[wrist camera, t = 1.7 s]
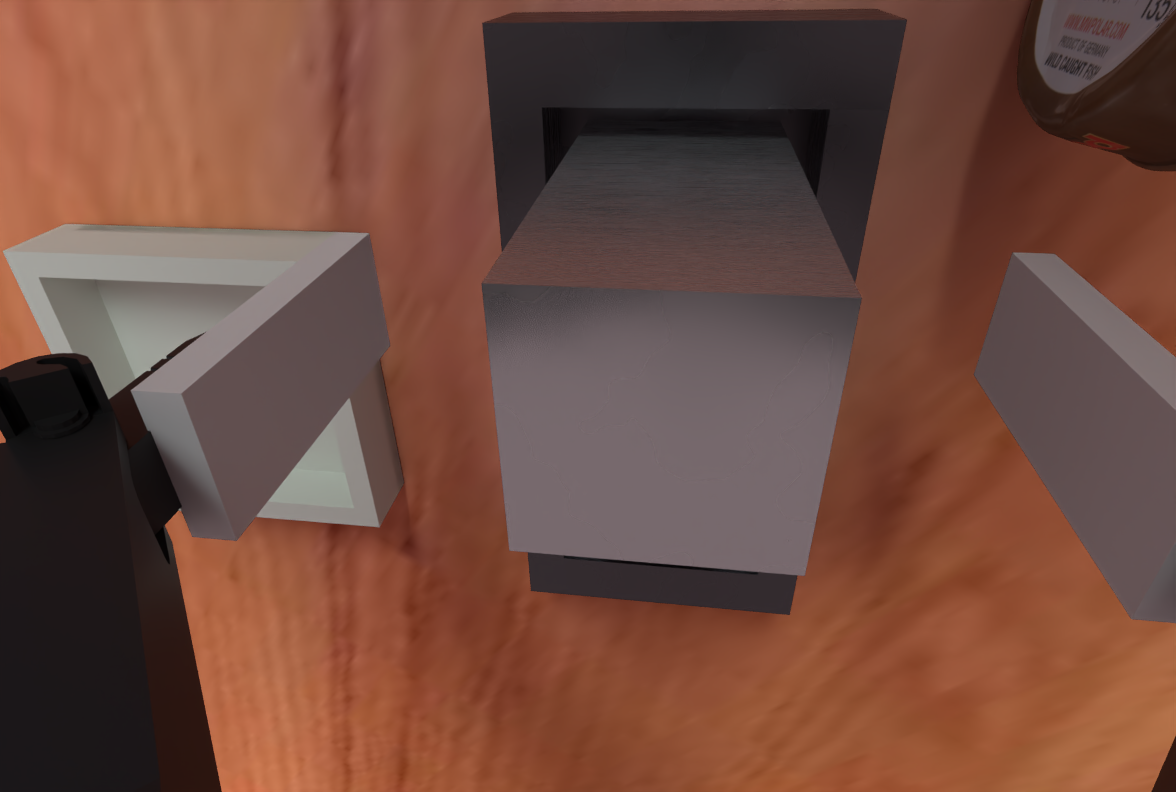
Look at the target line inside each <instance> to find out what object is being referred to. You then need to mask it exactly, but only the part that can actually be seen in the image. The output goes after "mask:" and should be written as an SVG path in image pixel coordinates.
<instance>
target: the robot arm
mask: <svg viewBox="0 0 1176 792" xmlns="http://www.w3.org/2000/svg"><path fill="white" fill-rule="evenodd" d="M389 346H390V342H389V337H388V331H387V326H386V321H385V315H384V310H383V304H382V299H381V294H380V288H379V283H378V278H377V272H376V267H375V261H374V256H373V251H372V245H371V240H370V235H369V233H347V232H335V233H334V234H333V235H332V236H330V237H329V238H328V239H326V240H325V241H324V242H322V243H321V244H320V245H319V246H317V247H316V248H315V249H313V250H312V251H311V252H309V253H308V254H307V255H306V256H304V257H303V258H302V259H300V260H299V261H298V262H297V263H295V264H294V265H293V266H291V267H290V268H289V269H287V270H286V271H285V272H284V273H282V274H281V275H280V276H278V277H277V278H276V279H274V280H273V281H272V282H271V283H269V284H268V285H267V286H265V287H264V288H263V289H262V290H260V291H259V292H258V293H256V294H255V295H254V296H252V297H251V298H250V299H249V300H247V301H246V302H245V303H243V304H242V305H241V306H239V307H238V308H237V309H236V310H234V311H233V312H232V313H230V314H229V315H228V316H227V317H225V318H224V319H223V320H221V321H220V322H219V323H217V324H216V325H215V326H214V327H212V328H211V329H210V330H208V331H207V332H205V333H203V334H200V335H198V336H196V337H194V338H191V339H189V340H187V341H185V342H184V343H182V344H181V345H180V346H178V347H177V348H176V349H175V350H173V351H172V352H171V353H169V354H168V355H167V356H166V359H161V360H160V361H159V362H157V363H156V364H155V365H153V366H152V367H151V370H150V371H146V372H144V373H143V374H142V375H140V376H139V377H138V378H136V379H135V380H134V381H132V382H131V383H130V384H128V385H127V386H126V387H124V388H123V389H122V390H120V391H119V392H118V393H116V394H115V395H114V396H113V397H111V398H110V399H108V397H107V395H106V392H105V390H104V388H103V386H102V383H101V381H100V379H99V377H98V374H97V372H96V370H95V368H94V365H93V363H92V362H91V360H90V359H89V358H88V356H85V355H81V354H77V353H56V354H50V355H44V356H38V357H34V358H31V359H28V360H24V361H21V362H17V363H15V364H13V365H10V366H8V367H6V368H4V369H1V370H0V430H1V432H2V434H3V436H4V437H5V439H6V443H0V792H222V791H221V786H220V781H219V776H218V771H217V766H216V761H215V756H214V751H213V746H212V741H211V736H210V730H209V725H208V720H207V715H206V710H205V705H204V700H203V695H202V690H201V685H200V680H199V675H198V670H197V665H196V660H195V655H194V650H193V645H192V640H191V635H190V630H189V625H188V620H187V615H186V610H185V605H184V599H183V594H182V589H181V584H180V579H179V574H178V569H177V564H176V559H175V554H174V549H173V544H172V541H171V539H170V536H169V534H168V532H167V530H166V527H165V524H166V523H167V522H168V521H169V520H170V519H171V518H172V517H173V516H174V515H175V513H176V512H177V511H178V510H179V509H181V511H182V513H183V516H184V518H185V521H186V523H187V525H188V528H189V530H190V532H191V535H192V537H199V538H211V539H222V540H233V541H237V540H238V539H239V537H240V536H241V535H242V534H243V532H244V531H245V530H246V528H247V527H248V526H249V525H250V523H251V522H252V521H253V520H254V518H255V517H256V516H257V514H258V513H259V512H260V511H261V509H262V508H263V507H264V506H265V504H266V503H267V502H268V500H269V499H270V498H271V497H272V495H273V494H274V493H275V492H276V490H277V489H278V488H279V486H280V485H281V484H282V483H283V481H284V480H285V479H286V478H287V476H288V475H289V474H290V472H291V471H292V470H293V469H294V467H295V466H296V465H297V464H298V462H299V461H300V460H301V458H302V457H303V456H304V455H305V453H306V452H307V451H308V450H309V448H310V447H311V446H312V444H313V443H314V442H315V441H316V439H317V438H318V437H319V436H320V434H321V433H322V432H323V430H324V429H325V428H326V427H327V425H328V424H329V423H330V422H331V420H332V419H333V418H334V416H335V415H336V414H337V413H338V411H339V410H340V409H341V408H342V406H343V405H344V404H345V402H346V401H347V400H348V399H349V397H350V396H351V395H352V394H353V392H354V391H355V390H356V388H357V387H358V386H359V385H360V383H361V382H362V381H363V380H364V378H365V377H366V376H367V374H368V373H369V372H370V371H371V369H372V368H373V367H374V366H375V364H376V363H377V362H378V360H379V359H380V358H381V357H382V355H383V354H384V353H385V352H386V350H387V349H388V348H389ZM974 376H975V377H976V379H977V381H978V382H979V384H980V385H981V387H982V388H983V390H984V391H985V393H986V395H987V396H988V398H989V399H990V401H991V402H992V404H993V405H994V407H995V409H996V410H997V412H998V413H999V415H1000V416H1001V418H1002V419H1003V421H1004V422H1005V424H1006V426H1007V427H1008V429H1009V430H1010V432H1011V433H1012V435H1013V436H1014V438H1015V440H1016V441H1017V443H1018V444H1019V446H1020V447H1021V449H1022V450H1023V452H1024V453H1025V455H1026V457H1027V458H1028V460H1029V461H1030V463H1031V464H1032V466H1033V467H1034V469H1035V471H1036V472H1037V474H1038V475H1039V477H1040V478H1041V480H1042V481H1043V483H1044V484H1045V486H1046V488H1047V489H1048V491H1049V492H1050V494H1051V495H1052V497H1053V498H1054V500H1055V502H1056V503H1057V505H1058V506H1059V508H1060V509H1061V511H1062V512H1063V514H1064V515H1065V517H1066V519H1067V520H1068V522H1069V523H1070V525H1071V526H1072V528H1073V529H1074V531H1075V533H1076V534H1077V536H1078V537H1079V539H1080V540H1081V542H1082V543H1083V545H1084V546H1085V548H1086V550H1087V551H1088V553H1089V554H1090V556H1091V557H1092V559H1093V560H1094V562H1095V564H1096V565H1097V567H1098V568H1099V570H1100V571H1101V573H1102V574H1103V576H1104V577H1105V579H1106V581H1107V582H1108V584H1109V585H1110V587H1111V588H1112V590H1113V591H1114V593H1115V595H1116V596H1117V598H1118V599H1119V601H1120V602H1121V604H1122V605H1123V607H1124V609H1125V610H1126V612H1127V613H1128V615H1129V616H1130V618H1131V619H1136V620H1148V621H1159V622H1170V623H1176V357H1175V356H1174V355H1172V354H1171V353H1170V352H1169V351H1168V350H1167V349H1165V348H1164V347H1163V346H1162V345H1161V344H1160V343H1158V342H1157V341H1156V340H1155V339H1154V338H1153V337H1151V336H1150V335H1149V334H1148V333H1147V332H1145V331H1144V330H1143V329H1142V328H1141V327H1140V326H1138V325H1137V324H1136V323H1135V322H1134V321H1133V320H1131V319H1130V318H1129V317H1128V316H1127V315H1126V314H1124V313H1123V312H1122V311H1121V310H1120V309H1119V308H1117V307H1116V306H1115V305H1114V304H1113V303H1112V302H1110V301H1109V300H1108V299H1107V298H1106V297H1105V296H1103V295H1102V294H1101V293H1100V292H1099V291H1098V290H1096V289H1095V288H1094V287H1093V286H1092V285H1091V284H1089V283H1088V282H1087V281H1086V280H1085V279H1083V278H1082V277H1081V276H1080V275H1079V274H1078V273H1076V272H1075V271H1074V270H1073V269H1072V268H1071V267H1069V266H1068V265H1067V264H1066V263H1065V262H1064V261H1062V260H1061V259H1060V258H1059V257H1058V256H1057V255H1055V254H1047V253H1014V252H1012V255H1011V258H1010V262H1009V265H1008V268H1007V271H1006V274H1005V277H1004V281H1003V284H1002V287H1001V290H1000V293H999V296H998V300H997V303H996V306H995V309H994V312H993V315H992V319H991V322H990V325H989V328H988V331H987V334H986V338H985V341H984V344H983V347H982V350H981V354H980V357H979V360H978V363H977V366H976V369H975V373H974ZM1152 792H1176V737H1175V739H1174V741H1173V743H1172V746H1171V748H1170V750H1169V753H1168V755H1167V757H1166V760H1165V762H1164V764H1163V766H1162V769H1161V771H1160V773H1159V776H1158V778H1157V780H1156V783H1155V785H1154V787H1153V790H1152Z"/></svg>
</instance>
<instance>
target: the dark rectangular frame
mask: <svg viewBox="0 0 1176 792" xmlns="http://www.w3.org/2000/svg"><path fill="white" fill-rule="evenodd" d="M906 22H907V20H906V19H904V18H901V17H898V16H895V15H892V14H889V13H886V12H883V11H881V10H878V9H843V10H738V11H634V12H529V13H510V14H507V15H504V16H501V17H498V18H495V19H493V20H490V21H487V22H484V23H482V24H483V36H484V47H485V59H486V71H487V82H488V94H489V106H490V117H491V129H492V141H493V152H494V164H495V176H496V187H497V199H498V211H499V222H500V234H501V246H502V251H503V250H504V248H505V247H506V245H507V244H508V242H509V241H510V239H511V238H512V236H513V235H514V233H515V232H516V230H517V228H518V227H519V225H520V224H521V222H522V221H523V219H524V218H525V216H526V215H527V213H528V212H529V210H530V209H531V207H532V206H533V204H534V202H535V201H536V199H537V198H538V196H539V195H540V193H541V192H542V190H543V189H544V187H545V186H546V184H547V183H548V181H549V180H550V178H551V177H552V175H553V173H554V172H555V170H556V169H557V167H558V166H559V164H560V163H561V161H562V160H563V158H564V157H565V155H566V154H567V152H568V151H569V149H570V148H571V146H572V144H573V143H574V141H575V140H576V138H577V137H578V135H579V134H580V132H581V131H582V129H583V128H584V126H585V125H586V123H587V122H588V120H669V121H777V122H781V123H782V125H783V128H784V130H785V132H786V134H787V136H788V139H789V141H790V143H791V145H792V147H793V149H794V152H795V154H796V156H797V158H798V160H799V162H800V165H801V167H802V169H803V171H804V173H805V176H806V178H807V180H808V182H809V184H810V186H811V189H812V191H813V193H814V195H815V197H816V199H817V202H818V204H819V206H820V208H821V210H822V213H823V215H824V217H825V219H826V221H827V223H828V226H829V228H830V230H831V232H832V234H833V236H834V239H835V241H836V243H837V245H838V247H839V249H840V252H841V254H842V256H843V258H844V260H845V263H846V265H847V267H848V269H849V271H850V273H851V276H852V278H853V280H854V282H855V281H856V276H857V270H858V265H859V260H860V255H861V250H862V245H863V240H864V235H865V230H866V225H867V220H868V215H869V210H870V205H871V199H872V194H873V189H874V184H875V179H876V174H877V169H878V164H879V159H880V154H881V149H882V144H883V139H884V134H885V129H886V123H887V118H888V113H889V108H890V103H891V98H892V93H893V88H894V83H895V78H896V73H897V68H898V63H899V58H900V52H901V47H902V42H903V37H904V32H905V27H906ZM528 561H529V573H530V584H531V591H537V592H548V593H559V594H570V595H581V596H591V597H602V598H613V599H624V600H635V601H646V602H656V603H667V604H678V605H689V606H700V607H711V608H722V609H732V610H743V611H754V612H765V613H776V614H787V615H790V610H791V605H792V600H793V595H794V590H795V585H796V580H797V575H788V574H777V573H765V572H753V571H742V570H730V569H718V568H707V567H695V566H683V565H671V564H660V563H648V562H636V561H625V560H613V559H601V558H590V557H578V556H566V555H555V554H543V553H531V552H528Z"/></svg>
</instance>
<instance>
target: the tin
mask: <svg viewBox="0 0 1176 792" xmlns="http://www.w3.org/2000/svg"><path fill="white" fill-rule="evenodd" d="M1017 84H1018V90H1019V94H1020V97H1021V99H1022V101H1023V103H1024V105H1025V107H1026V109H1027V111H1028V112H1029V114H1030V115H1031V117H1032V119H1033V120H1034V121H1035V122H1036V124H1037V125H1038V126H1039V127H1041V128H1042V129H1043V130H1044V131H1046V132H1048V133H1049V134H1052V135H1055V136H1058V137H1060V138H1063V139H1066V140H1069V141H1071V142H1075V143H1079V144H1083V145H1086V146H1090V147H1094V148H1098V149H1101V150H1105V151H1109V152H1113V153H1116V154H1120V155H1122V156H1123V157H1125V158H1126V159H1127V160H1129V161H1130V162H1131V163H1133V164H1135V165H1137V166H1139V167H1142V168H1145V169H1148V170H1153V171H1176V0H1032V1H1031V4H1030V8H1029V11H1028V14H1027V17H1026V21H1025V25H1024V29H1023V33H1022V38H1021V43H1020V48H1019V55H1018V66H1017Z"/></svg>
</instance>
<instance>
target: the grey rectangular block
mask: <svg viewBox="0 0 1176 792" xmlns="http://www.w3.org/2000/svg"><path fill="white" fill-rule="evenodd" d="M482 292H483V302H484V311H485V321H486V331H487V340H488V350H489V359H490V369H491V378H492V388H493V398H494V407H495V417H496V426H497V436H498V445H499V455H500V465H501V474H502V484H503V493H504V503H505V513H506V522H507V532H508V541H509V551H519V552H531V553H543V554H555V555H566V556H578V557H590V558H601V559H613V560H625V561H636V562H648V563H660V564H671V565H683V566H695V567H707V568H718V569H730V570H742V571H753V572H765V573H777V574H788V575H800V576H805V572H806V567H807V562H808V558H809V553H810V548H811V543H812V538H813V533H814V528H815V523H816V519H817V514H818V509H819V504H820V499H821V494H822V489H823V484H824V480H825V475H826V470H827V465H828V460H829V455H830V450H831V445H832V441H833V436H834V431H835V426H836V421H837V416H838V411H839V406H840V402H841V397H842V392H843V387H844V382H845V377H846V372H847V368H848V363H849V358H850V353H851V348H852V343H853V338H854V333H855V329H856V324H857V319H858V314H859V309H860V304H861V299H862V297H861V295H860V293H859V291H858V289H857V286H856V284H855V282H854V280H853V278H852V276H851V273H850V271H849V269H848V267H847V265H846V263H845V260H844V258H843V256H842V254H841V252H840V249H839V247H838V245H837V243H836V241H835V239H834V236H833V234H832V232H831V230H830V228H829V226H828V223H827V221H826V219H825V217H824V215H823V213H822V210H821V208H820V206H819V204H818V202H817V199H816V197H815V195H814V193H813V191H812V189H811V186H810V184H809V182H808V180H807V178H806V176H805V173H804V171H803V169H802V167H801V165H800V162H799V160H798V158H797V156H796V154H795V152H794V149H793V147H792V145H791V143H790V141H789V139H788V136H787V134H786V132H785V130H784V128H783V125H782V123H781V122H777V121H669V120H588V122H587V123H586V125H585V126H584V128H583V129H582V131H581V132H580V134H579V135H578V137H577V138H576V140H575V141H574V143H573V144H572V146H571V148H570V149H569V151H568V152H567V154H566V155H565V157H564V158H563V160H562V161H561V163H560V164H559V166H558V167H557V169H556V170H555V172H554V173H553V175H552V177H551V178H550V180H549V181H548V183H547V184H546V186H545V187H544V189H543V190H542V192H541V193H540V195H539V196H538V198H537V199H536V201H535V202H534V204H533V206H532V207H531V209H530V210H529V212H528V213H527V215H526V216H525V218H524V219H523V221H522V222H521V224H520V225H519V227H518V228H517V230H516V232H515V233H514V235H513V236H512V238H511V239H510V241H509V242H508V244H507V245H506V247H505V248H504V250H503V251H502V253H501V254H500V256H499V257H498V259H497V261H496V262H495V264H494V265H493V267H492V268H491V270H490V271H489V273H488V274H487V276H486V277H485V279H484V280H483V282H482Z"/></svg>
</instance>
